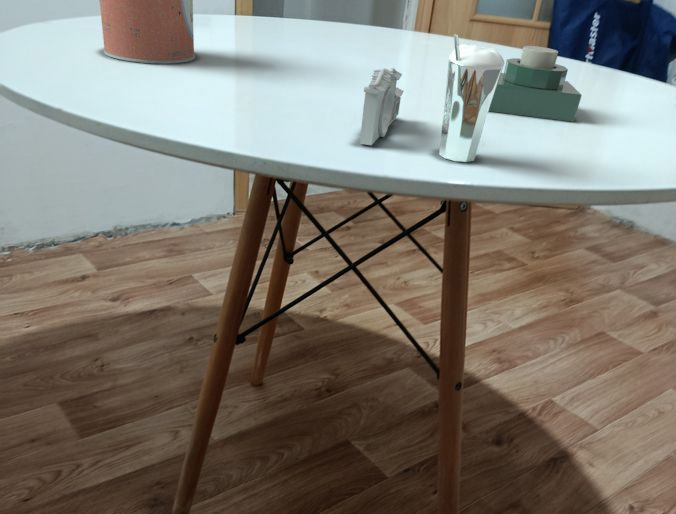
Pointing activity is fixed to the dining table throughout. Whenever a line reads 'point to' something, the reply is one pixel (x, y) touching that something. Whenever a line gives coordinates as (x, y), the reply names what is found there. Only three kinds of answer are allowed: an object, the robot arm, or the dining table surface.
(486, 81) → the milkshake
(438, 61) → the dining table surface
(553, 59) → the white short cylinder
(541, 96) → the dispenser
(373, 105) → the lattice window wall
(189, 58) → the canned food
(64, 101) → the dining table surface
